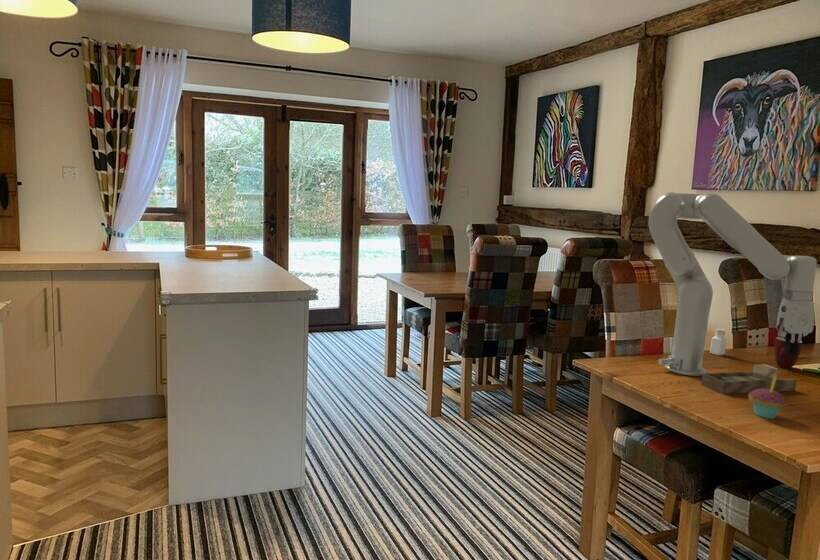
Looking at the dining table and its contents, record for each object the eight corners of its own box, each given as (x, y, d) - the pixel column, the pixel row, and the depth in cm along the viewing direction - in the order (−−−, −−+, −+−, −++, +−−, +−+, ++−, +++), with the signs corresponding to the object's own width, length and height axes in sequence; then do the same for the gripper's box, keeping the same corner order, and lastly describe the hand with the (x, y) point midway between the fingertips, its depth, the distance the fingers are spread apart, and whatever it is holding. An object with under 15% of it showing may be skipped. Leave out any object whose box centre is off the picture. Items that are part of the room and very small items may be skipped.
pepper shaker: (719, 356, 220) (722, 331, 218) (709, 353, 223) (712, 328, 222) (725, 355, 222) (729, 330, 221) (715, 352, 225) (718, 327, 224)
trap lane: (722, 393, 175) (724, 382, 174) (700, 384, 183) (702, 373, 183) (794, 390, 183) (796, 379, 182) (771, 381, 191) (772, 371, 190)
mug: (796, 373, 202) (800, 345, 201) (768, 368, 207) (773, 340, 206) (798, 367, 211) (803, 340, 209) (772, 362, 215) (776, 335, 214)
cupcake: (790, 421, 155) (797, 377, 153) (759, 420, 154) (766, 376, 152) (768, 409, 163) (775, 367, 162) (739, 408, 163) (745, 366, 161)
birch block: (764, 381, 181) (766, 369, 181) (752, 377, 186) (754, 364, 185) (775, 381, 183) (777, 368, 182) (763, 376, 187) (765, 364, 186)
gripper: (789, 298, 177) (782, 358, 179) (827, 297, 181) (820, 356, 183) (767, 294, 184) (761, 352, 186) (805, 293, 188) (798, 350, 190)
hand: (790, 354), depth 185 cm, fingers closed
